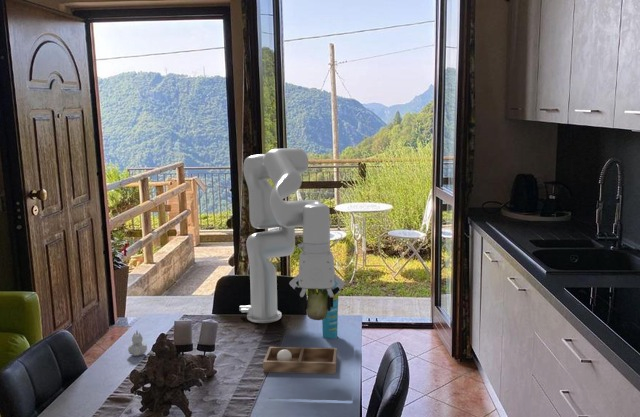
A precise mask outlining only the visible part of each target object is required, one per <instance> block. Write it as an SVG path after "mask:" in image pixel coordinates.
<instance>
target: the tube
mask: <svg viewBox="0 0 640 417" xmlns="http://www.w3.org/2000/svg"><path fill="white" fill-rule="evenodd" d="M337 285H338V283H337V282H336V281H335V284H334V287H333V289H334V288H335V287H336V286H337ZM322 292H323V289H322ZM328 295H329V293H328ZM338 317H339V291H338V292H337V293H336V294H335V295H334V297H333V307H331V311H329V310H328V312H327V315H326V318H325V319H323V320H321V322H322V325H321V326H322V338H323V339H331V340H333V339H334V340H335V339H337V338H338V325H339V322H338Z"/></svg>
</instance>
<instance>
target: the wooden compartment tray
mask: <svg viewBox="0 0 640 417" xmlns="http://www.w3.org/2000/svg"><path fill="white" fill-rule="evenodd" d="M282 349H287V350H289V351H290V352H291V354H292V360H291V361H278V360H277V354H278V352H279V351H280V350H282ZM263 358H264V359H263V362H262V366H263V367H262V368H263V369H262V371H263V373H286V374H287V373H289V374H290V373H294V374H295V373H297V374H300V373H301V374H333V375H335V374H336V371H337V362H338V348H337V347H304V346H303V347H299V346H298V347H297V346H293V347H292V346H269V347H268V349H267V352H266V354H265V356H264V357H263Z"/></svg>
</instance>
